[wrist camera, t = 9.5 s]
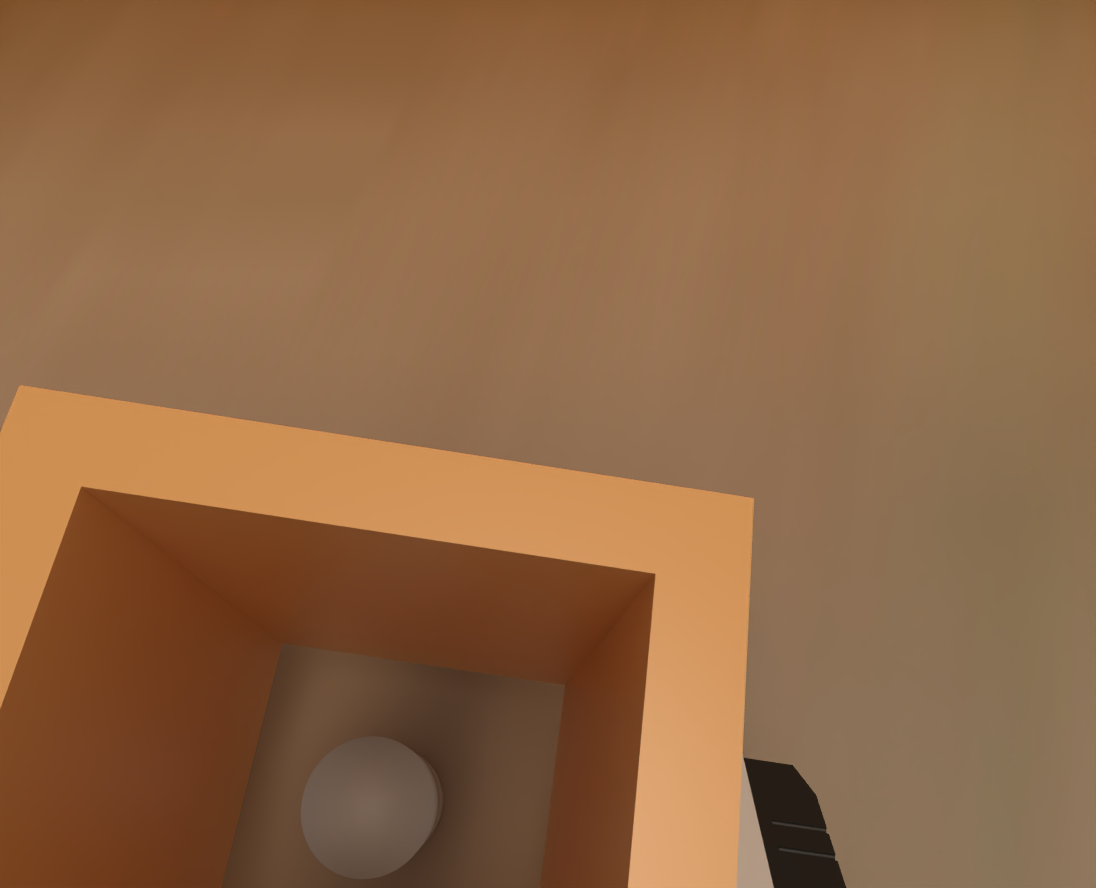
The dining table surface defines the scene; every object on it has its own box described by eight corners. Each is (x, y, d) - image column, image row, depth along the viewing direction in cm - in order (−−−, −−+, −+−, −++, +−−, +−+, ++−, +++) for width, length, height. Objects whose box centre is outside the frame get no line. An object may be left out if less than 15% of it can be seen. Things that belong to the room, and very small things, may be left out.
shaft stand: (-8, 1077, 20) (-266, 1233, 13) (174, 503, 25) (61, 393, 18) (678, 1171, 20) (787, 1369, 13) (714, 586, 26) (806, 509, 19)
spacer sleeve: (128, 1027, 15) (-389, 1376, 6) (247, 589, 18) (19, 385, 9) (570, 1089, 16) (706, 1517, 6) (616, 645, 19) (753, 498, 9)
